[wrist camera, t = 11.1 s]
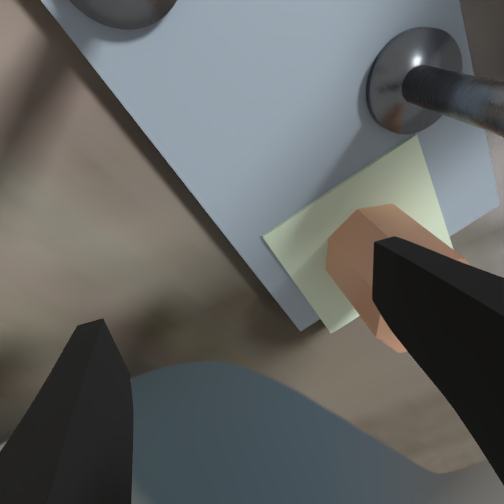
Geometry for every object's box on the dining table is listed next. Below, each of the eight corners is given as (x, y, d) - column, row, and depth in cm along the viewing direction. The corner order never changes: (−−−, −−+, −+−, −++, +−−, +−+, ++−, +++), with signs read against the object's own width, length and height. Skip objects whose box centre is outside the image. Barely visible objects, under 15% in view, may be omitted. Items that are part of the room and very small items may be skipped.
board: (-323, -472, 8) (-360, -511, 8) (228, -1019, 7) (237, -1120, 7) (295, 323, 26) (300, 331, 25) (489, 199, 24) (499, 204, 24)
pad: (261, 235, 20) (262, 237, 20) (414, 133, 20) (416, 134, 20) (329, 331, 26) (330, 333, 25) (453, 253, 25) (455, 255, 25)
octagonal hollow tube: (417, 199, 22) (494, 252, 17) (400, 275, 24) (463, 338, 20) (330, 212, 21) (388, 272, 16) (323, 290, 23) (371, 359, 19)
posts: (35, -2, 13) (-82, -3, 6) (53, -175, 11) (-85, -513, 4) (420, 142, 20) (598, 229, 13) (471, 48, 18) (716, 84, 11)
